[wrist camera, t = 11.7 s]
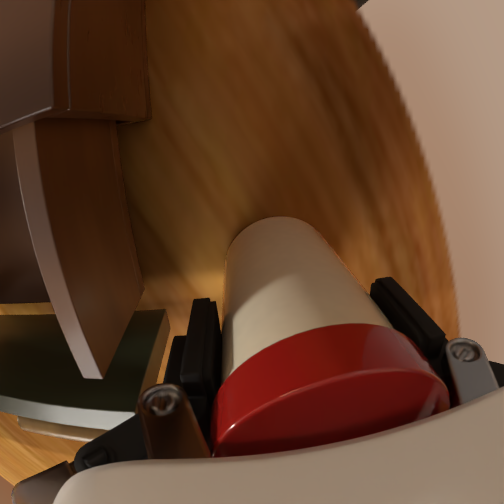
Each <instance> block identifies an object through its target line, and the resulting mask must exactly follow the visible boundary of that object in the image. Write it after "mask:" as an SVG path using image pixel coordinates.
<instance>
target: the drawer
mask: <svg viewBox="0 0 504 504" xmlns="http://www.w3.org/2000/svg"><path fill="white" fill-rule="evenodd" d="M144 290H145V287H144V283H143V279H142V275H141V270H140V266H139V262H138V257H137V252H136V248H135V243H134V238H133V233H132V228H131V223H130V217H129V212H128V206H127V200H126V194H125V188H124V182H123V175H122V168H121V161H120V153H119V145H118V137H117V128H116V120H104V119H82V118H46V117H45V118H42V119H39V120H36V121H34V122H31V123H28V124H26V125H23V126H20V127H18V128H15V129H13V130H10V131H8V132H5V133H3V134H1V135H0V304H13V303H40V302H51V303H52V306H53V308H54V311H55V314H47V315H0V411H1V412H5V413H9V414H13V415H18V417H17V419H18V424H19V426H20V428H21V429H23V430H25V431H29V432H33V433H38V434H42V435H47V436H52V437H57V438H62V439H68V440H74V441H80V442H87V443H88V442H90V441H92V440H94V439H95V438H97V437H99V436H101V435H102V434H104V433H106V432H107V431H109V430H111V429H113V428H114V427H116V426H118V425H119V424H121V423H123V422H124V421H126V420H128V419H129V418H131V417H132V416H134V415H136V414H137V413H138V408H137V401H138V399H139V396H140V395H141V394H142V393H143V392H144V390H146V389H148V388H149V387H151V386H154V385H156V382H157V378H158V374H159V370H160V366H161V362H162V358H163V355H164V351H165V347H166V343H167V339H168V336H169V332H170V324H169V320H168V316H167V312H166V309H159V310H144V311H135V309H136V307H137V305H138V303H139V301H140V299H141V296H142V294H143V292H144Z"/></svg>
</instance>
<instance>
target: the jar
mask: <svg viewBox="0 0 504 504" xmlns="http://www.w3.org/2000/svg"><path fill="white" fill-rule="evenodd" d="M450 407H451V400H450V393H449V390H448V388H447V386H446V384H445V383H444V381H443V380H442V379H441V377H440V376H439V374H438V373H437V372H436V370H435V369H434V368H433V366H432V365H431V363H430V362H429V361H428V359H427V358H426V357H425V355H424V354H423V353H422V351H421V350H420V349H419V347H418V346H417V345H416V344H415V343H414V342H413V340H411V339H410V338H408V337H407V336H406V335H404V334H402V333H400V332H398V331H396V329H395V328H394V327H393V325H392V324H391V323H390V321H389V320H388V319H387V317H386V316H385V315H384V313H383V312H382V311H381V309H380V308H379V307H378V305H377V304H376V303H375V301H374V300H373V299H372V298H371V296H370V295H369V294H368V292H367V291H366V290H365V288H364V287H363V286H362V285H361V283H360V282H359V281H358V279H357V278H356V277H355V276H354V274H353V273H352V272H351V271H350V269H349V268H348V267H347V266H346V264H345V263H344V262H343V261H342V259H341V258H340V257H339V256H338V254H337V253H336V252H335V251H334V250H333V248H332V247H331V246H330V245H329V243H328V242H327V241H326V240H325V239H324V237H323V236H322V235H321V234H320V233H319V232H318V231H317V230H316V229H315V228H314V227H313V226H311V225H310V224H308V223H306V222H304V221H302V220H299V219H296V218H292V217H284V216H280V217H270V218H266V219H262V220H260V221H257V222H255V223H253V224H251V225H250V226H248V227H247V228H245V229H244V230H243V231H242V232H241V233H240V234H239V235H238V236H237V237H236V238H235V239H234V241H233V242H232V244H231V245H230V247H229V249H228V252H227V254H226V258H225V264H224V281H223V303H222V328H221V357H220V389H219V390H218V392H217V394H216V396H215V399H214V401H213V405H212V409H211V428H210V453H211V456H212V458H219V457H234V456H247V455H258V454H267V453H276V452H284V451H291V450H297V449H304V448H310V447H315V446H321V445H326V444H331V443H336V442H341V441H346V440H350V439H354V438H359V437H363V436H367V435H371V434H375V433H378V432H382V431H386V430H389V429H393V428H396V427H399V426H403V425H406V424H409V423H412V422H415V421H418V420H421V419H424V418H427V417H430V416H433V415H436V414H439V413H441V412H444V411H447V410H449V409H450Z"/></svg>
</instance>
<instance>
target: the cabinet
mask: <svg viewBox="0 0 504 504" xmlns="http://www.w3.org/2000/svg"><path fill="white" fill-rule="evenodd" d="M45 117H46V118H82V119H104V120H116V126H119V125H124V124H129V123H134V122H139V121H144V120H149V119H151V118H152V115H151V104H150V92H149V79H148V64H147V45H146V18H145V0H0V135H1V134H3V133H5V132H8V131H10V130H13V129H15V128H18V127H20V126H23V125H26V124H28V123H31V122H34V121H36V120H39V119H42V118H45Z"/></svg>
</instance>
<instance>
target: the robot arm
mask: <svg viewBox="0 0 504 504" xmlns="http://www.w3.org/2000/svg"><path fill="white" fill-rule="evenodd" d="M370 296H371V298H372V299H373V300H374V301H375V303H376V304H377V305H378V307H379V308H380V309H381V311H382V312H383V313H384V315H385V316H386V317H387V319H388V320H389V321H390V323H391V324H392V325H393V327H394V328H395V329H396V331H398V332H400V333H402V334H404V335H406V336H407V337H408V338H410V339H411V340H413V342H414V343H415V344H416V345H417V346H418V347H419V349H420V350H421V351H422V353H423V354H424V355H425V357H426V358H427V359H428V361H429V362H430V363H431V365H432V366H433V368H434V369H435V370H436V372H437V373H438V374H439V376H440V377H441V379H442V380H443V381H444V383H445V384H446V386H447V388H448V390H449V393H450V400H451V407H450V409H449V410H447V411H444V412H441V413H439V414H436V415H433V416H430V417H427V418H424V419H421V420H418V421H415V422H412V423H409V424H406V425H403V426H399V427H396V428H393V429H389V430H386V431H382V432H378V433H375V434H371V435H367V436H363V437H359V438H354V439H350V440H346V441H341V442H336V443H331V444H326V445H321V446H315V447H310V448H304V449H297V450H291V451H284V452H276V453H267V454H258V455H247V456H234V457H219V458H212V456H211V453H210V428H211V409H212V405H213V401H214V399H215V396H216V394H217V392H218V390H219V389H220V357H221V330H220V324H219V318H218V311H217V305H216V301H213V302H210V298H201V299H194V300H193V305H192V310H191V315H190V320H189V325H188V330H187V335H184V336H175V337H174V339H173V342H172V346H171V351H170V355H169V359H168V363H167V368H166V372H165V376H164V381H163V383H162V384H156V385H154V386H151V387H149V388H148V389H146V390H144V392H143V393H142V394H141V395H140V396H139V399H138V401H137V408H138V413H137V414H136V415H134V416H132V417H131V418H129V419H128V420H126V421H124V422H123V423H121V424H119V425H118V426H116V427H114V428H113V429H111V430H109V431H107V432H106V433H104V434H102V435H101V436H99V437H97V438H95V439H94V440H92V441H90V442H88V443H87V444H85V445H84V446H82V447H81V448H80V449H79V451H78V452H77V453H76V456H75V459H74V461H73V462H71V463H68V462H67V461H64V462H62V463H60V464H58V465H56V466H53V467H51V468H49V469H47V470H45V471H43V472H40V473H38V474H36V475H34V476H31V477H29V478H27V479H24V480H22V481H20V482H19V483H17V484H16V485H15V487H14V488H13V491H12V502H13V504H504V364H500V363H496V362H492V361H488V359H487V357H486V354H485V352H484V350H483V348H482V347H481V346H480V345H479V344H478V343H477V342H475V341H473V340H470V339H467V338H455V339H453V340H450V341H448V340H447V339H446V338H445V335H446V334H445V333H444V332H443V331H442V330H441V329H440V328H439V326H438V325H437V324H436V323H435V322H434V321H433V320H432V319H431V318H430V317H429V316H428V315H427V313H426V312H425V311H424V310H423V309H422V308H421V307H420V306H419V305H418V304H417V303H416V302H415V301H414V300H413V299H412V298H411V297H410V296H409V295H408V293H407V292H406V291H405V290H404V289H403V288H402V287H401V286H400V285H399V284H398V283H397V282H396V281H395V280H394V279H393V278H392V277H385V278H378V279H376V280H375V283H372V284H371V290H370Z"/></svg>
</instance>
